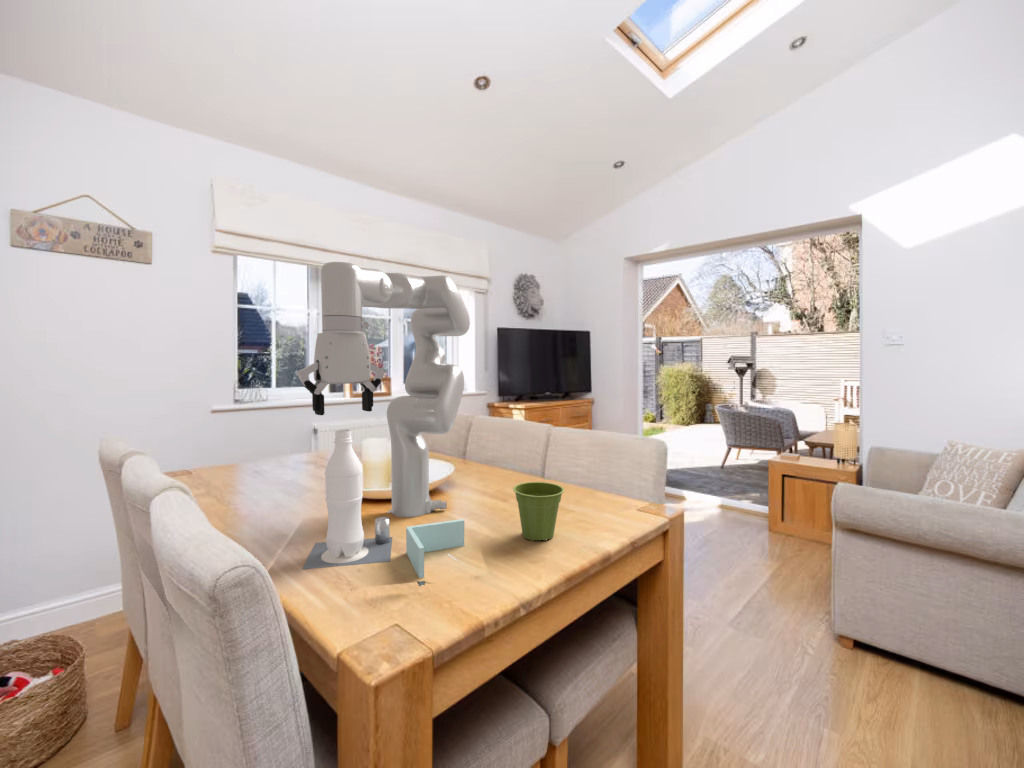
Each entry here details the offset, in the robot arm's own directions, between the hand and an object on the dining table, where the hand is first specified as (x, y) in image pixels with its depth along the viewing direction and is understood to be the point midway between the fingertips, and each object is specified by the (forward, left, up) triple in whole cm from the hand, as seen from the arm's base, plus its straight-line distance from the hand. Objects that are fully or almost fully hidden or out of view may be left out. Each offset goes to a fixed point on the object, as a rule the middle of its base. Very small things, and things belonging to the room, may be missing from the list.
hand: (344, 412), depth 92 cm
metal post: (-7, -5, -29) cm, 30 cm away
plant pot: (-42, -5, -30) cm, 52 cm away
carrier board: (-1, -1, -30) cm, 30 cm away
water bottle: (0, 0, -29) cm, 29 cm away
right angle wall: (-19, +7, -31) cm, 37 cm away
